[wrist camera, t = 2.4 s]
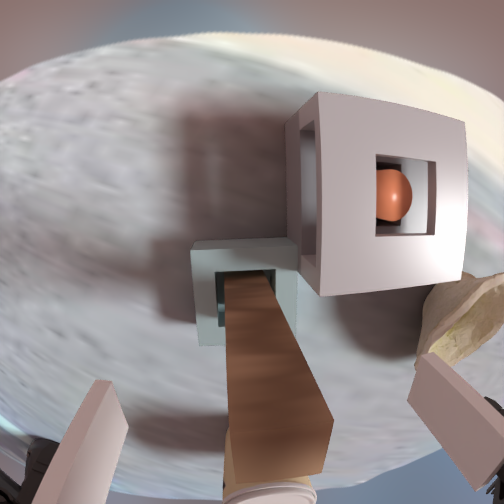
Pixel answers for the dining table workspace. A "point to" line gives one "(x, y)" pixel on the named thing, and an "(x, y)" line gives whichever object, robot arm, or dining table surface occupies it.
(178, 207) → the dining table surface
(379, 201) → the button
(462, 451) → the robot arm
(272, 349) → the brown wooden bar
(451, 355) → the bowl
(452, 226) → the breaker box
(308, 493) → the coffee cup
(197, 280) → the holder
